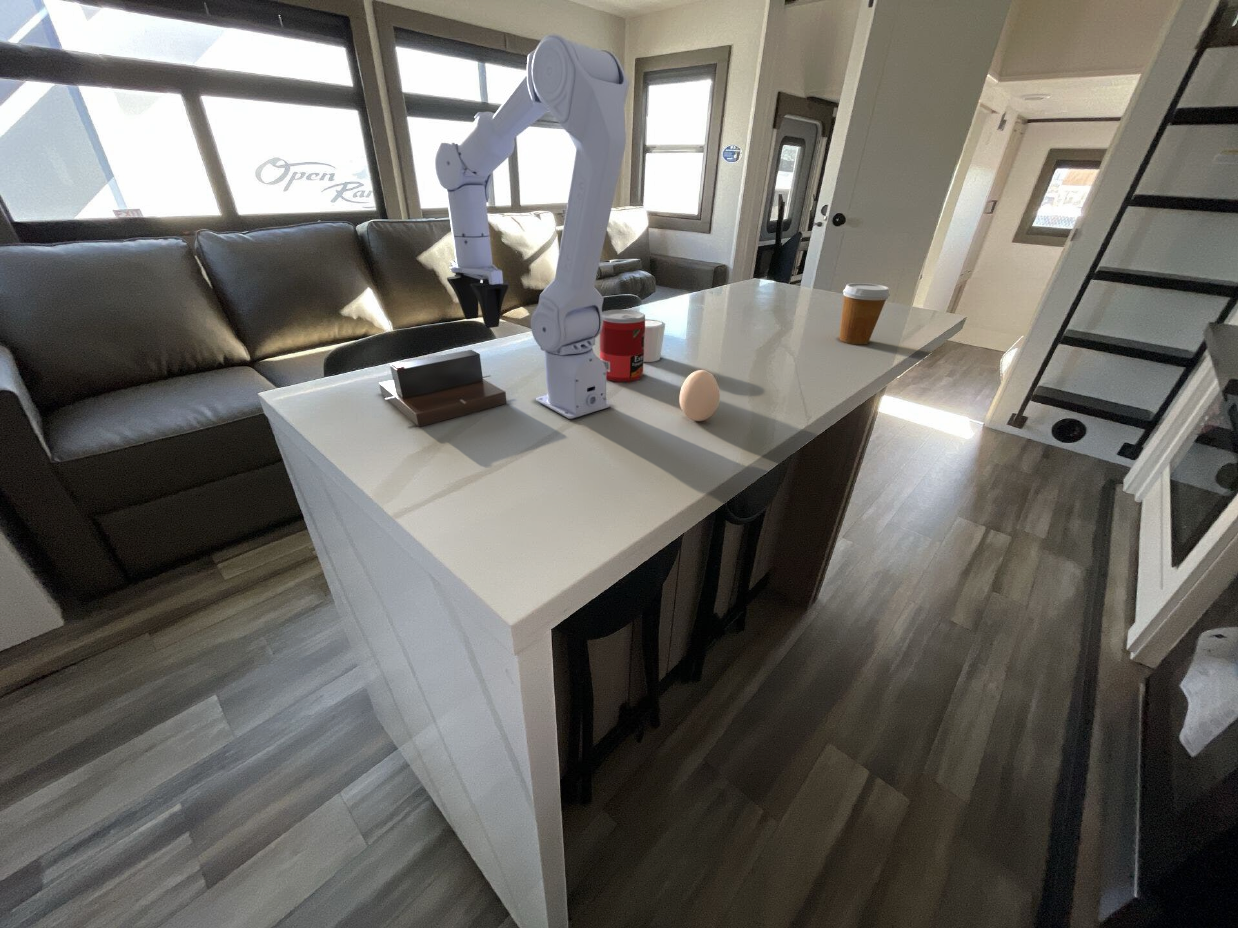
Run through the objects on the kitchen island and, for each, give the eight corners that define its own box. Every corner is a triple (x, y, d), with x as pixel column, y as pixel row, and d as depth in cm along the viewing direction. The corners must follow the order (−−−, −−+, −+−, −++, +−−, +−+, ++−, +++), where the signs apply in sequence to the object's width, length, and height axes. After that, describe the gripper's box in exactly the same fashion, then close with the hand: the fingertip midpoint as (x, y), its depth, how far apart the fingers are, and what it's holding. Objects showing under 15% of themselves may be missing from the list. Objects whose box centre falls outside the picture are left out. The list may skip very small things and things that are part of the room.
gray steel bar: (474, 376, 82) (471, 348, 80) (483, 380, 80) (479, 352, 78) (396, 393, 75) (389, 363, 72) (403, 399, 73) (396, 368, 70)
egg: (722, 427, 71) (728, 376, 67) (683, 429, 70) (688, 378, 66) (709, 411, 76) (715, 363, 72) (673, 412, 75) (677, 364, 71)
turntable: (517, 402, 78) (516, 389, 77) (409, 431, 68) (405, 417, 67) (469, 374, 89) (467, 362, 88) (370, 395, 79) (366, 383, 78)
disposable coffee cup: (836, 345, 110) (850, 289, 104) (828, 334, 118) (840, 282, 112) (881, 348, 108) (897, 291, 102) (869, 336, 116) (884, 283, 111)
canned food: (639, 384, 86) (641, 320, 80) (595, 380, 87) (594, 317, 82) (645, 370, 92) (648, 310, 87) (604, 367, 94) (604, 308, 88)
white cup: (669, 356, 100) (671, 321, 97) (652, 365, 95) (654, 329, 92) (640, 350, 103) (641, 317, 100) (622, 358, 98) (623, 323, 95)
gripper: (428, 233, 80) (441, 317, 87) (467, 240, 70) (479, 335, 77) (468, 231, 84) (478, 312, 91) (511, 238, 74) (519, 328, 81)
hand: (481, 322), depth 84 cm, fingers open, 7 cm apart
